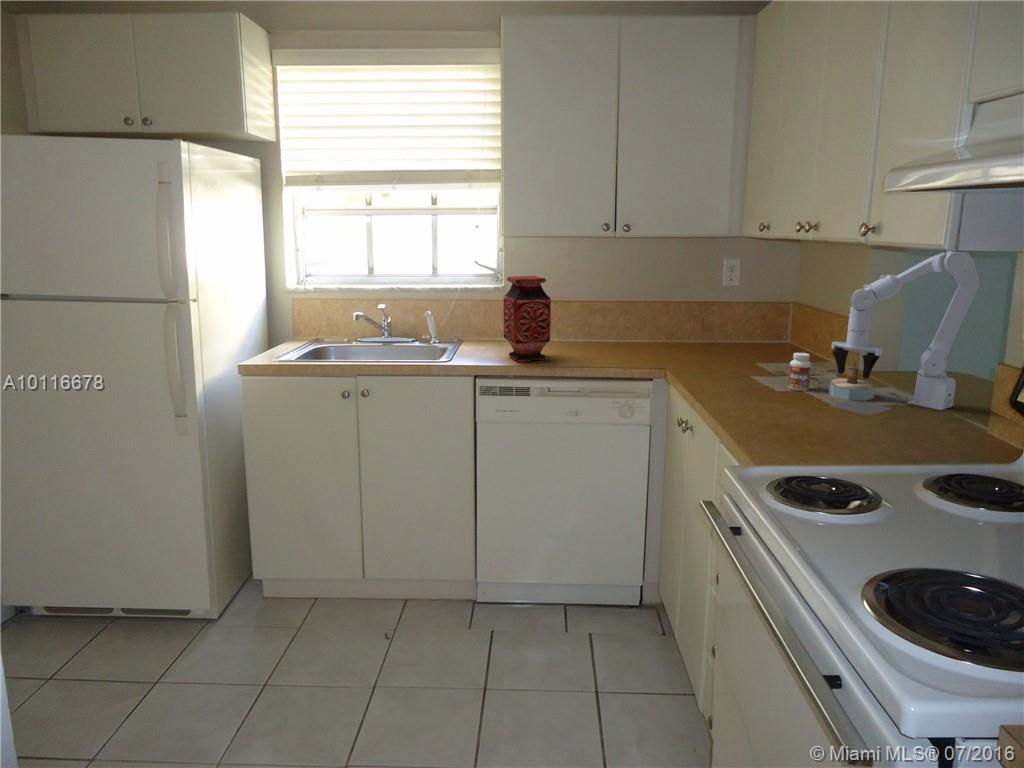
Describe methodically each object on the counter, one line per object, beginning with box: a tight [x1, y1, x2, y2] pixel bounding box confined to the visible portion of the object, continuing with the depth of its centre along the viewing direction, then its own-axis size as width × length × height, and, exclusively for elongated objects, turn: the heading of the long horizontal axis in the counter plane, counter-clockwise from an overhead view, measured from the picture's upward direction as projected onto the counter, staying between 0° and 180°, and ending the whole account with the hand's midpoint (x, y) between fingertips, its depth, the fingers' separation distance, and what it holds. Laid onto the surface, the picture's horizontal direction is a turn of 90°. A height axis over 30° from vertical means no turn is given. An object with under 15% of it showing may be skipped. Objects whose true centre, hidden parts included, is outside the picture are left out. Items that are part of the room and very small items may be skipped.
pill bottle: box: [787, 352, 812, 392], centre depth 229 cm, size 6×6×11 cm
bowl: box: [828, 381, 876, 402], centre depth 221 cm, size 11×11×4 cm
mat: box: [828, 400, 893, 417], centre depth 208 cm, size 12×12×1 cm
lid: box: [831, 367, 873, 390], centre depth 220 cm, size 11×11×5 cm
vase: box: [503, 275, 552, 363], centre depth 272 cm, size 14×14×30 cm
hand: (853, 375), depth 220 cm, fingers open, 7 cm apart
